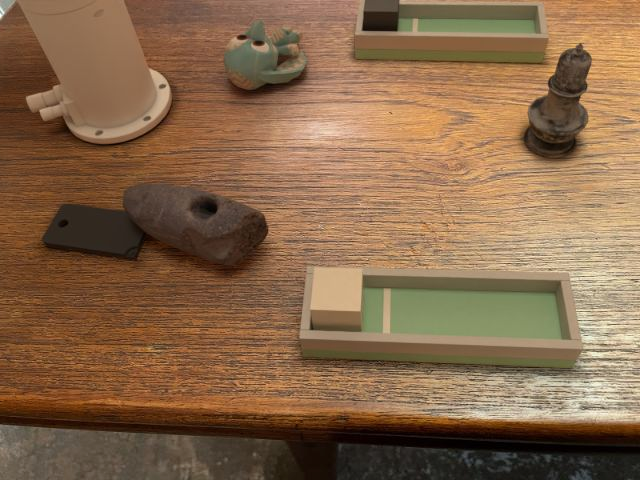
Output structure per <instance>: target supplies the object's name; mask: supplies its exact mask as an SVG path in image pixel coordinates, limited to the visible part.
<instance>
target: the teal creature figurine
mask: <svg viewBox="0 0 640 480" xmlns="http://www.w3.org/2000/svg"><path fill="white" fill-rule="evenodd" d="M303 38H304V35H303V32H302V31H301V30H300V29H298V28H297V29H292V28H291V26H289V25H284V26H281V27H279V28H276V29H274V30H272V32H271V33H270V35H269V36H267V35H266V31H265V27H264V23H263V21H262V20H260V19H257V20H256V21H255V22H254V23H252V25H250V27H249V28H248V29H247V30H246V31H244V32H243V33H241V34H239V35H236V36H235V37H232V38H231V39H230V40H229V42H228V43H227V45H226V46H225V51H224V57H223V64H224V67H225V71H226V73H227V75H228V77H229V79H230V82H231V83H232V84H234V85H235V86H236V87H237V88H240V89H243V90H247V91H253V90H254V91H255V90H256V89H258V88H261V87H262V86H265V85H266V84H272V85H273V84H274V85H276V84H284V83H285V84H286V83H289V82H291V81H292V80H293V79H295V78H298V77H300V76H301V74H302V73H303V71H304V70H305V67H306V65H307V63H308V59H307V55H306V52H304V50H301V51H300V48H299V46H298V45H297V44H298V43H300V42H301V41H302V40H303ZM280 55H284V56H291V57H290V58H288V59H287V60H285V61H284V62H281V63H280V64H278V61H279V60H278V59H279V56H280Z"/></svg>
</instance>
